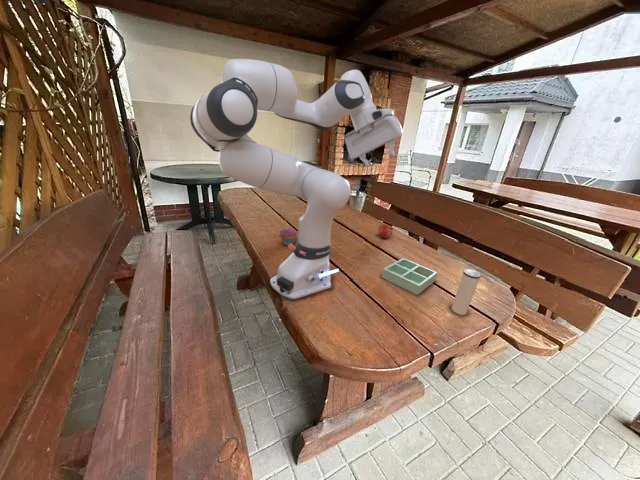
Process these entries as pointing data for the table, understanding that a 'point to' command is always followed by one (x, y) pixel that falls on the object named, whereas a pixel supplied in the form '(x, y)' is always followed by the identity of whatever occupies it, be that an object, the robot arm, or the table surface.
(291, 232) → the cupcake
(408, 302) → the table surface
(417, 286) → the compartment tray
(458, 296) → the capped cylinder
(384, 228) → the pomegranate
